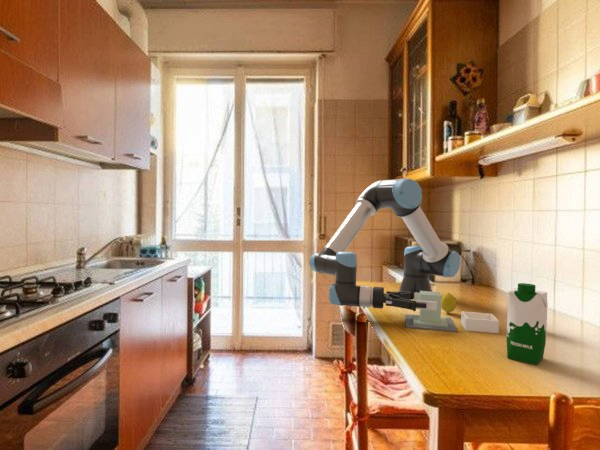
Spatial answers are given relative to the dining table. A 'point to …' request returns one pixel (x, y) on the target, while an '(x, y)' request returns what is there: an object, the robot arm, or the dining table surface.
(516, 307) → the milk carton
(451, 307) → the lemon
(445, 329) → the mat
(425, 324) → the lid
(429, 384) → the dining table surface
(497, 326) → the open box
